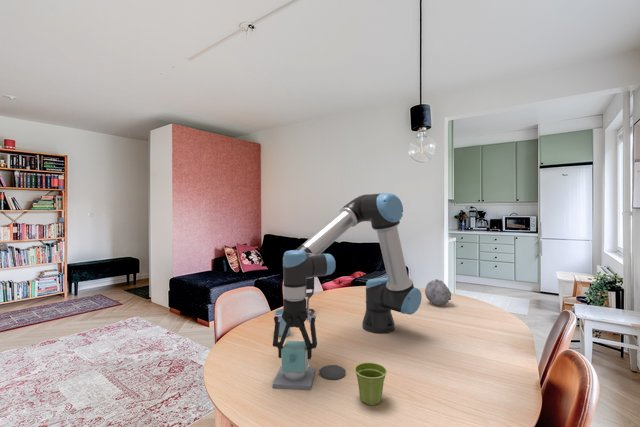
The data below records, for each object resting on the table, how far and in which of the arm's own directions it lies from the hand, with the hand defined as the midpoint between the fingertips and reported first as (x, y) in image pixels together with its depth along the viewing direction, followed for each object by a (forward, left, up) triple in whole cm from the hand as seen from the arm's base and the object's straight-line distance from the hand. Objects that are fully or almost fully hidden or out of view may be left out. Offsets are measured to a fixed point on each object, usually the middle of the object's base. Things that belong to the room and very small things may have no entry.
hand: (295, 368), depth 104 cm
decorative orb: (-69, -91, -4) cm, 114 cm away
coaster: (-12, -5, -4) cm, 13 cm away
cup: (+12, -37, -4) cm, 39 cm away
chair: (+9, -65, -4) cm, 66 cm away
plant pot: (-24, +9, -4) cm, 26 cm away
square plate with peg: (0, 0, -4) cm, 4 cm away
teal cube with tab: (0, 0, 0) cm, 0 cm away
